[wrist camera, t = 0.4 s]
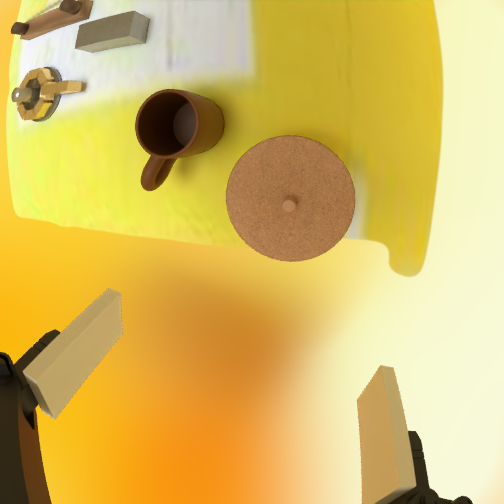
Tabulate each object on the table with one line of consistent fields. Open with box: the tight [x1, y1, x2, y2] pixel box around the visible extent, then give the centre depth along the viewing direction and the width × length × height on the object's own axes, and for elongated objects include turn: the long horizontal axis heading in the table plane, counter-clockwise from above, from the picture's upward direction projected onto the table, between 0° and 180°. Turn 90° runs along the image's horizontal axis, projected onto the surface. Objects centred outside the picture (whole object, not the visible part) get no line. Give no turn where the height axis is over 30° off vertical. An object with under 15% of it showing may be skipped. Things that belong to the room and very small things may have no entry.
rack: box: [11, 0, 93, 40], centre depth 28 cm, size 4×17×6 cm, turn 82°
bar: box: [75, 11, 150, 53], centre depth 29 cm, size 10×4×4 cm, turn 84°
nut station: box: [12, 67, 62, 122], centre depth 33 cm, size 10×10×7 cm
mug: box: [135, 89, 224, 191], centre depth 32 cm, size 12×8×9 cm, turn 154°
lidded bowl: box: [226, 135, 355, 262], centre depth 31 cm, size 13×13×11 cm
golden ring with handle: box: [17, 68, 82, 120], centre depth 33 cm, size 9×16×3 cm, turn 82°
